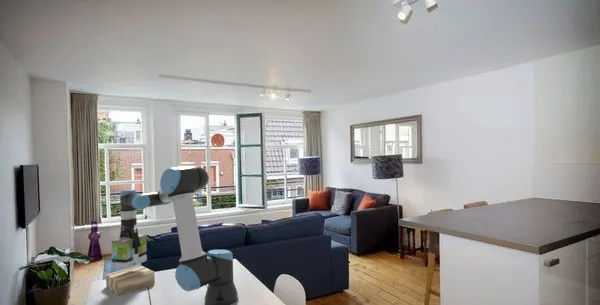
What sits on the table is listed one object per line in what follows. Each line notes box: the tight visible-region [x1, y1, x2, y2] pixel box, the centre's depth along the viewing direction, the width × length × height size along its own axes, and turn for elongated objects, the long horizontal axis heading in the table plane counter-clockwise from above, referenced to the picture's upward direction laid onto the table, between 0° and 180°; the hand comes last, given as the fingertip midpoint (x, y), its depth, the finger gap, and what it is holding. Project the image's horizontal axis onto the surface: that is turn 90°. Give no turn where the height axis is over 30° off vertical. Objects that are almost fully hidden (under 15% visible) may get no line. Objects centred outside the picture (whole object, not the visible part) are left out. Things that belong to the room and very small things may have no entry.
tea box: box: [111, 233, 148, 270], centre depth 173 cm, size 15×10×15 cm
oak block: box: [105, 264, 156, 296], centre depth 173 cm, size 18×18×7 cm
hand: (129, 258), depth 173 cm, fingers closed on tea box, 12 cm apart
